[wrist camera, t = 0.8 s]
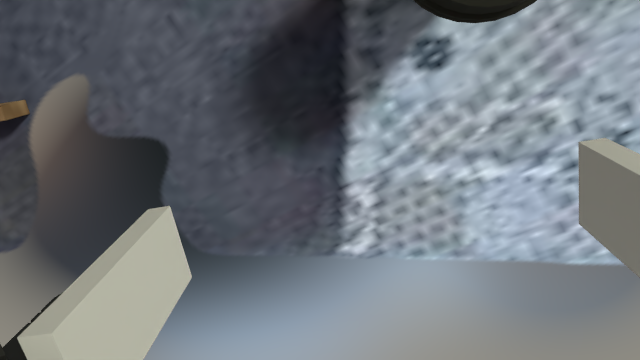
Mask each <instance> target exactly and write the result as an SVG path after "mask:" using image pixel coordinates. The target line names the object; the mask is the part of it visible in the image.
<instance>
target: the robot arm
mask: <svg viewBox="0 0 640 360" xmlns="http://www.w3.org/2000/svg"><path fill="white" fill-rule="evenodd" d="M579 224H580V225H581V226H582V227H583V228H584V229H585V230H587V231H588V232H589V233H590V234H591V235H592V236H593V237H594V238H596V239H597V240H598V241H599V242H600V243H601V244H602V245H603V246H604V247H606V248H607V249H608V250H609V251H610V252H611V253H612V254H613V255H615V256H616V257H617V258H618V259H619V260H620V261H621V262H622V263H624V264H625V265H626V266H627V267H628V268H629V269H630V270H631V271H633V272H634V273H635V274H636V275H637V276H638V277H639V278H640V154H638V153H636V152H634V151H632V150H630V149H627V148H625V147H623V146H621V145H619V144H617V143H615V142H613V141H610V140H608V139H606V138H602V139H596V140H589V141H583V142H579ZM191 278H192V276H191V273H190V269H189V267H188V263H187V260H186V256H185V253H184V250H183V247H182V244H181V240H180V237H179V234H178V231H177V227H176V224H175V221H174V218H173V215H172V211H171V208H170V206H166V207H160V208H154V209H148V210H147V211H146V212H145V213H144V214H143V215H142V216H141V217H140V218H139V219H138V220H137V221H136V222H135V223H134V224H133V225H132V226H131V227H130V228H129V229H128V230H127V231H126V232H125V233H124V234H123V235H121V236H120V237H119V238H118V239H117V240H116V241H115V242H114V243H113V244H112V245H111V246H110V247H109V248H108V249H107V250H106V251H105V252H104V253H103V254H102V255H101V256H100V257H99V258H98V259H97V260H96V261H95V262H94V263H93V264H92V265H91V266H90V267H89V268H88V269H87V270H86V271H85V272H84V273H83V274H82V275H81V276H80V277H79V278H78V279H77V280H75V282H74V283H72V284H71V285H70V286H69V287H68V288H67V289H66V290H65V291H64V292H63V293H61V294H60V295H58V296H57V297H55V298H54V299H52V300H51V302H49V303H48V304H47V305H46V306H45V307H44V308H43V309H42V310H41V313H38V314H37V315H36V316H35V317H34V318H33V319H32V320H31V323H28V324H27V325H26V326H25V327H23V329H21V330H20V331H19V332H18V333H17V334H16V335H15V336H14V337H13V338H12V339H11V340H10V341H9V342H8V343H7V344H6V345H5V346H4V347H3V348H2V346H1V345H0V360H143V359H144V358H145V356H146V354H147V352H148V351H149V349H150V347H151V346H152V344H153V342H154V341H155V339H156V337H157V336H158V334H159V332H160V330H161V329H162V327H163V325H164V324H165V322H166V320H167V318H168V317H169V315H170V313H171V312H172V310H173V308H174V307H175V305H176V303H177V302H178V300H179V298H180V296H181V295H182V293H183V291H184V290H185V288H186V286H187V284H188V283H189V281H190V280H191Z"/></svg>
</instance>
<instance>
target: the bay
mask: <svg viewBox="0 0 640 360" xmlns="http://www.w3.org/2000/svg"><path fill="white" fill-rule="evenodd" d="M27 114H30V113H29V110H28V107H27V104H26V101H25V100H21V101H14V102H7V103H1V104H0V121H5V120H9V119H12V118H16V117H20V116H23V115H27Z"/></svg>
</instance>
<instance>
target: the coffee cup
mask: <svg viewBox="0 0 640 360" xmlns="http://www.w3.org/2000/svg"><path fill="white" fill-rule="evenodd" d="M414 1H415V2H416V3H417V4H418V5H420V6H421V7H422V8H424V9H425V10H427V11H429V12H431V13H433V14H435V15H437V16H438V17H442V18H445V19H449V20H452V21H456V22H467V23H480V22H488V21H495V20H498V19H501V18H504V17H507V16H510V15H513V14H515V13H517V12H519V11H520V10H522V9H524V8H526V7H528V6H529V5H531V4H533V3H534V2H535V1H537V0H414Z"/></svg>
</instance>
